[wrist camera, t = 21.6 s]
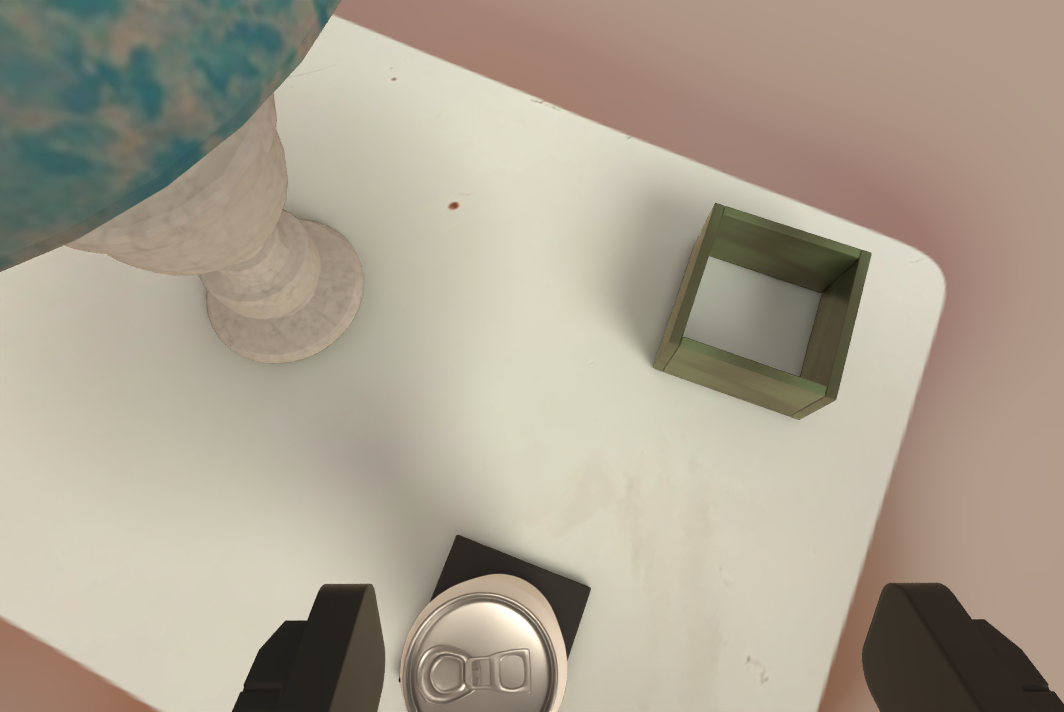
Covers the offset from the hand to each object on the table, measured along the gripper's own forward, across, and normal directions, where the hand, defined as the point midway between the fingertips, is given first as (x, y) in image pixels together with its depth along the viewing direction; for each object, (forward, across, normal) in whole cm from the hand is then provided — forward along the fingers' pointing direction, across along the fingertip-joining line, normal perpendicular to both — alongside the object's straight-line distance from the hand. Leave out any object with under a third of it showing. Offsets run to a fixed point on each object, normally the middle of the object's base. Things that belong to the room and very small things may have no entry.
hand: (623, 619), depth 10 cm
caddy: (+30, -12, +9) cm, 33 cm away
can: (+17, +4, +21) cm, 27 cm away
